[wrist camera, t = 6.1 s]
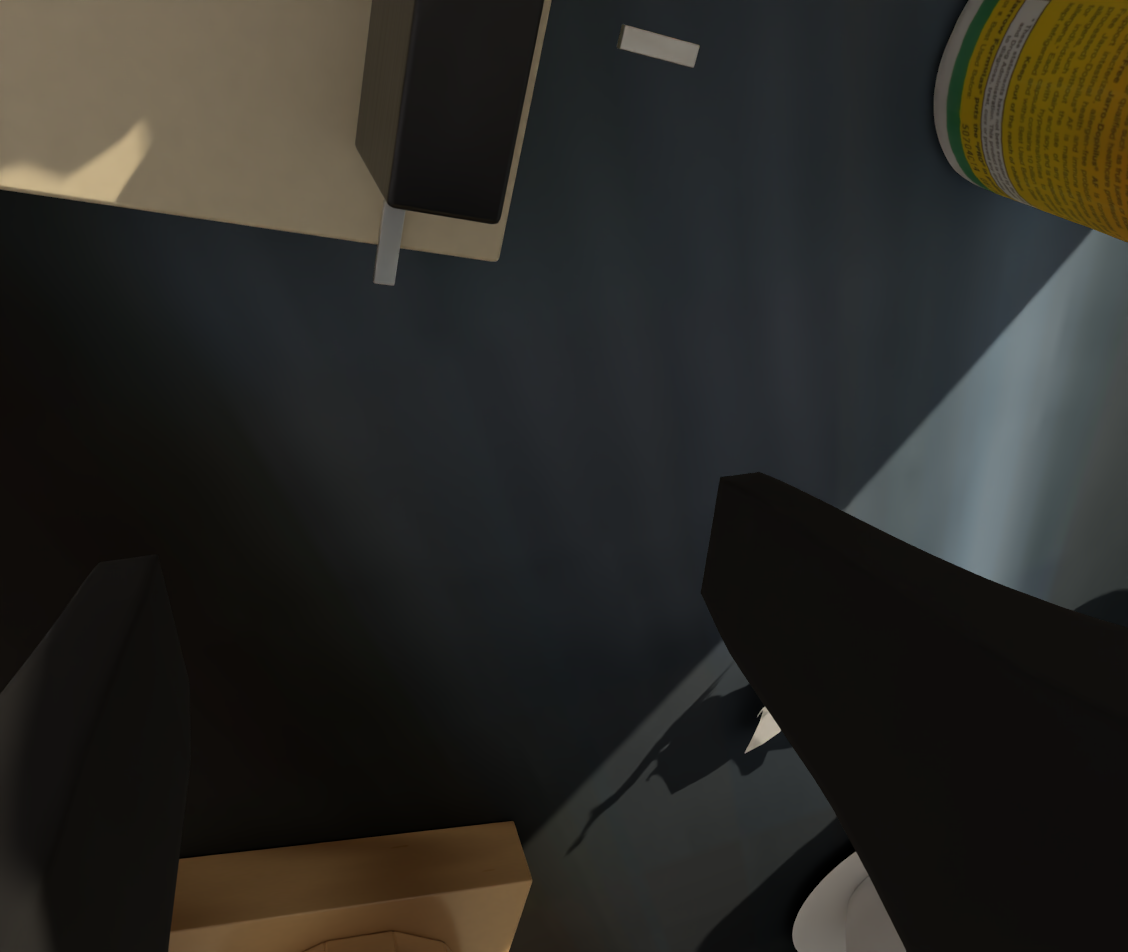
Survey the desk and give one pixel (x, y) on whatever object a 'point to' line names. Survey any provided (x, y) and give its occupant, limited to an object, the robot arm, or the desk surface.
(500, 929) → the lid base
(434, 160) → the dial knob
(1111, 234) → the supplement bottle
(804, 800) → the desk surface
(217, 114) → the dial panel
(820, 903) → the teacup
